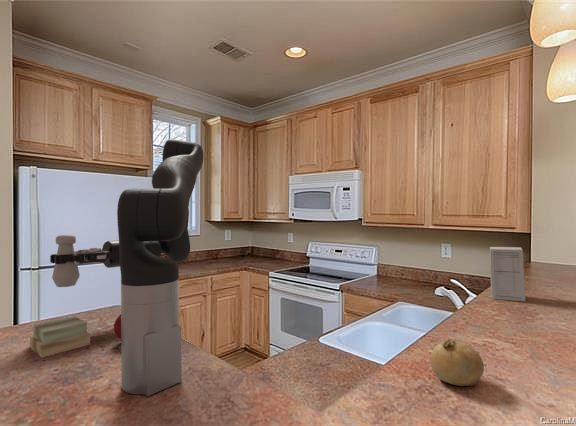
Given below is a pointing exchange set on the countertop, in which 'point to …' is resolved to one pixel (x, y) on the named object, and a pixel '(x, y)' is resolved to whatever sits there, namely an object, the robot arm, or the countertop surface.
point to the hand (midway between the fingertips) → (53, 259)
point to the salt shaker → (69, 271)
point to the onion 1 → (118, 327)
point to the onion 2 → (456, 363)
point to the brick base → (59, 345)
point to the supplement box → (507, 273)
